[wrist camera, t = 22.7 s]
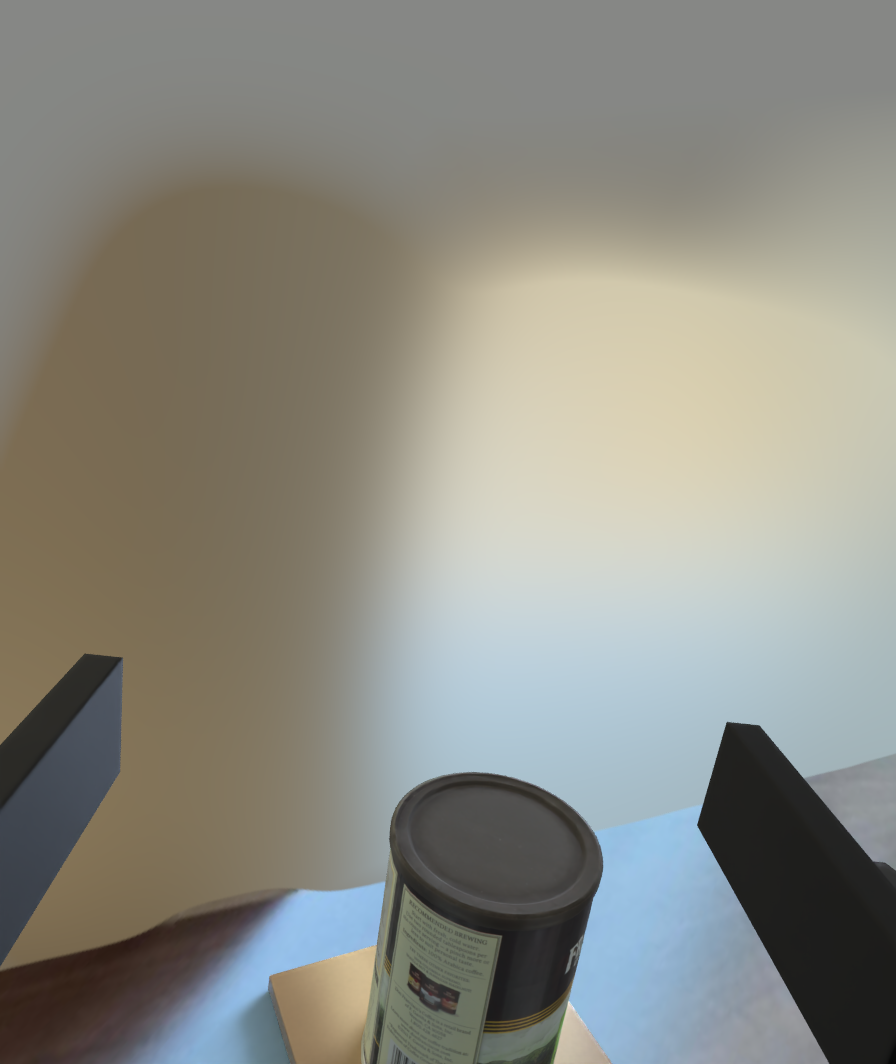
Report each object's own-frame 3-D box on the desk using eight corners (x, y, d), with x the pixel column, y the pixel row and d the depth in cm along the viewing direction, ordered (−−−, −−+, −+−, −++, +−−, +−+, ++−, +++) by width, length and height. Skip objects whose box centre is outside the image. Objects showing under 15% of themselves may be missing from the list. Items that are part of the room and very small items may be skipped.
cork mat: (365, 1320, 30) (368, 1303, 29) (267, 988, 43) (269, 975, 43) (665, 1159, 37) (669, 1144, 37) (502, 919, 51) (504, 907, 50)
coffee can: (543, 986, 45) (589, 786, 41) (557, 1175, 35) (620, 935, 31) (374, 958, 45) (404, 756, 41) (341, 1139, 35) (375, 895, 31)
